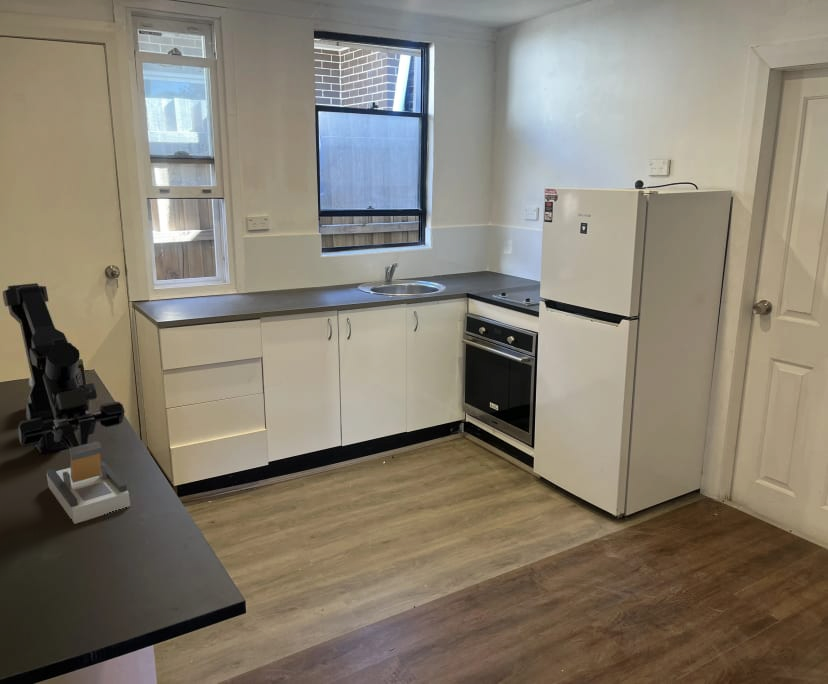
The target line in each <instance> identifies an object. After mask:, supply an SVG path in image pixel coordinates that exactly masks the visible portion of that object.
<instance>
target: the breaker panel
mask: <svg viewBox="0 0 828 684" xmlns="http://www.w3.org/2000/svg"><path fill="white" fill-rule="evenodd" d="M46 479H47V485H48V488H49V490H50V491H51V493H52V494H53V495H54V497H55V498H56V500H57V501H58V503H59V504H60V505H61V506H62V508H63V510H64V511H65V513H66V514H67V516H68V517H69V518H70V519H72V520H71V521H72V522H73V524H75V525H76V524H78V523H82V522H85V521H89V520H92V519H94V518H95V519H96V518H99V517H101V516H104V514H105V515H108V514H110V513H109V512H111V513H113V512H112V511H114V512H116V511H115V510H117V511H119V510H118V509H121V510H123V509H122V508H124V509H126V508H125V507H127V508H129V506H130V507H131V499H130V493H129V491H128V489H127V488H128V487H127V484H126V483H125V481H123V480H122V479H121V477H119V476H118V474H117V473H116V472H115V471H114V470H112V469H111V468H110V466H108V464H107V463H105V462H104V460H103V459H102V458H101V457H100V475H99V476H96V477H92V478H89V479H85V480H82V481H78V482H74V483H73V482H72V479H71V467H67V468H64V469H60V470H55V469H54V468H50V469H46ZM107 513H108V514H107Z"/></svg>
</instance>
